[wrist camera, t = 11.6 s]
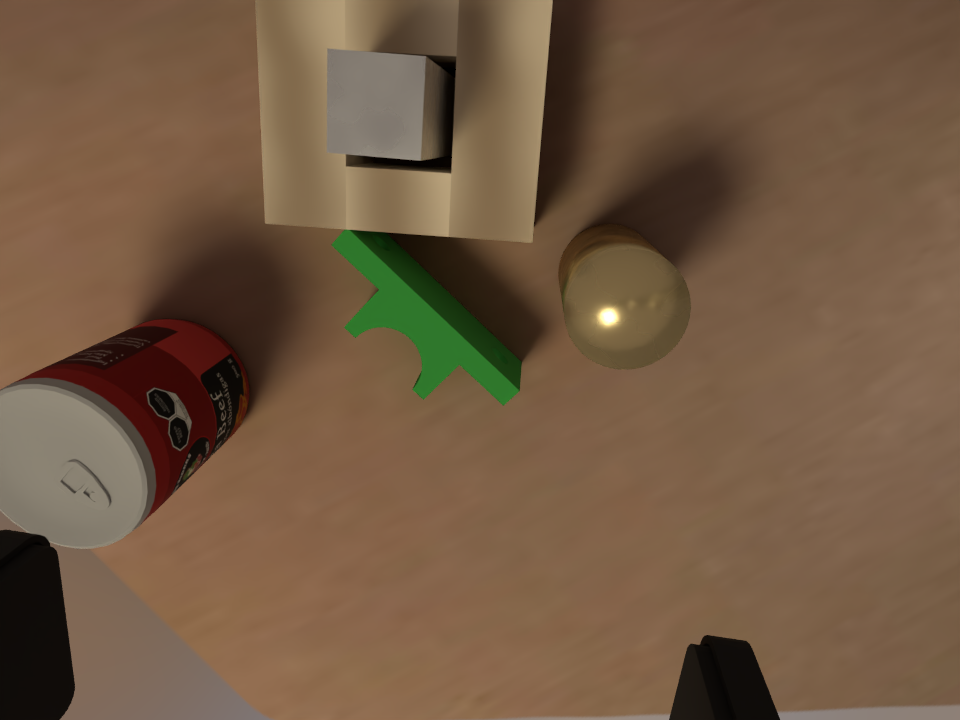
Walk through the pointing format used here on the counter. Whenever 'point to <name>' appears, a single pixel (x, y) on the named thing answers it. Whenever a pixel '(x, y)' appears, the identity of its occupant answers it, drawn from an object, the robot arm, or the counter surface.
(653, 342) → the round bit
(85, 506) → the canned food
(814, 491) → the counter surface
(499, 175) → the socket block
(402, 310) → the pipe clamp
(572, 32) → the counter surface
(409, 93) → the square bit
